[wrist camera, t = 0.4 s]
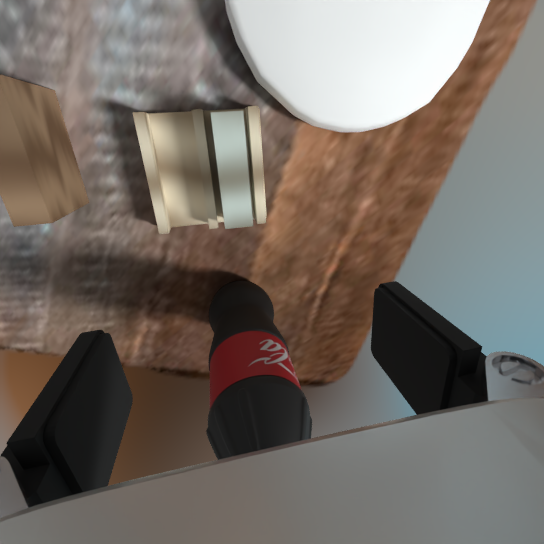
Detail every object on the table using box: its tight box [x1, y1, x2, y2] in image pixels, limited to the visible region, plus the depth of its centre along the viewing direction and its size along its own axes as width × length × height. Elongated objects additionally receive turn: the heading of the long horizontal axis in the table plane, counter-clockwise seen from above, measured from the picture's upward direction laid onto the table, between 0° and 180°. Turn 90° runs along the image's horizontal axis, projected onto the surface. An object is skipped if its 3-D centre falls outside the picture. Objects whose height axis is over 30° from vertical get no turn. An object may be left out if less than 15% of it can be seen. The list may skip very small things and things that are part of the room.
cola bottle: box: [207, 281, 312, 460], centre depth 30 cm, size 8×8×30 cm
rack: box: [132, 106, 267, 234], centre depth 33 cm, size 12×13×6 cm
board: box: [0, 75, 89, 227], centre depth 28 cm, size 11×3×9 cm, turn 3°
